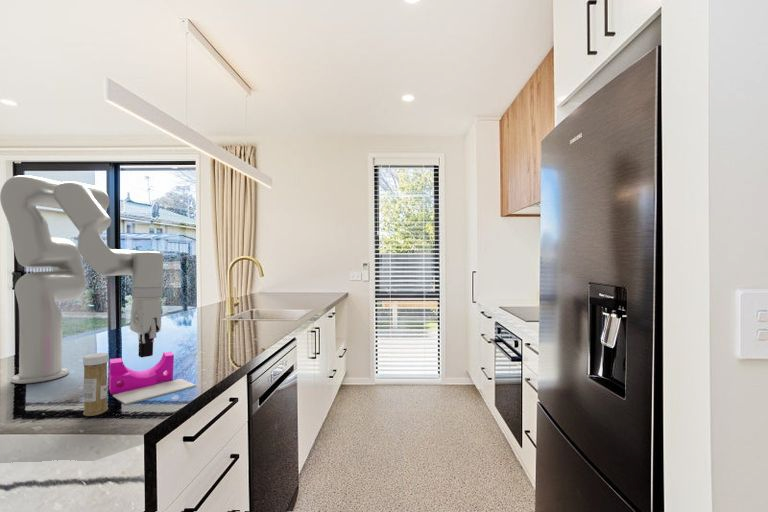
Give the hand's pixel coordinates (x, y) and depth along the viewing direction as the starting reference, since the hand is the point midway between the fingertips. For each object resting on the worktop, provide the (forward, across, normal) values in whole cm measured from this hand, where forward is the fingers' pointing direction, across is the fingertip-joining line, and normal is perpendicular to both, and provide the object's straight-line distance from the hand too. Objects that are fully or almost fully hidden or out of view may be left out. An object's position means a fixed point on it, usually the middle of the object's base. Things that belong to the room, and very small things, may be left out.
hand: (145, 356), depth 109 cm
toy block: (+7, +3, -2) cm, 8 cm away
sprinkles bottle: (+7, +16, -16) cm, 24 cm away
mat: (+7, +12, -2) cm, 14 cm away
